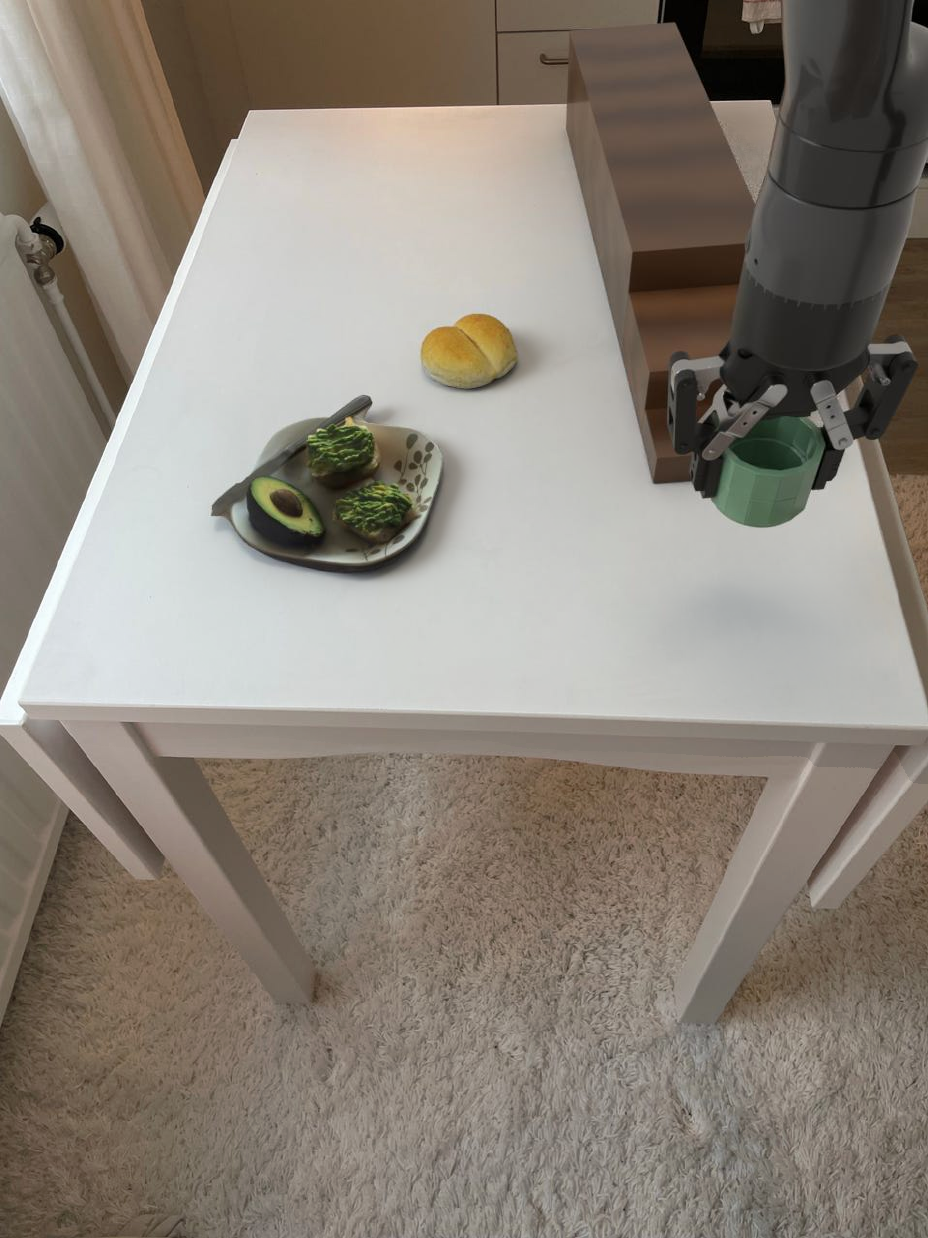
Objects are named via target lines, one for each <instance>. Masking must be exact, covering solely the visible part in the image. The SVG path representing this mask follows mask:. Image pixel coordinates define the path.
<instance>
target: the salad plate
mask: <svg viewBox="0 0 928 1238" xmlns="http://www.w3.org/2000/svg"><path fill="white" fill-rule="evenodd" d="M372 406H373V401H372V397H371V396H370V395H367V394H361V395H358V396H357V397H355V398H354V399H352V400H351V401H350V402H348V403H346V404H345V405H344V406H343V407H341V408H340V409H339V410H337V411H336V412H335V413H333V414H332V415H331V416H324V417H323V416H320V417H319V416H318V417H310V418H309V417H308V418H305V419H302V420H299V421H297V422H293V423H291V424H289V425H286V426H284V427H281V428H280V429H279V430H277V431H276V432H275V433H273V434H272V436H271V437H270V438H269V440H268V441H267V442H266V443H265V445H264V446H263V448H262V449H261V451H260V454H259V455H258V457H257V459H256V461H255V463H254V464H253V466H252V468H251V470H250V473H249V475H248V476H246V477H245V478H244V479H243V480H242V481H240V482H236V483H235V484H233V485H232V486H231V487H230V488H229V489H227V490H226V491H225V492H224V493H222V494H221V495H220V496H219V497H218V498H217V499H216V500H215V501H214V502H213V503H212V504H211V513H210V517H222V518H224V519H226V520H227V521H228V522H229V523H230V524H231V526H232V527H233V529H234V531H235V533H236V534H237V535H238V537H239V538H240V539H241V540H242V541H243V542H244V543H245V544H246V545H247V546H248V547H250V548H252V549H254V550H255V551H257V552H258V553H261V554H263V555H264V556H267V557H268V558H271V559H272V560H276V561H279V562H283V563H288V564H291V565H295V566H298V567H302V568H307V569H311V570H316V571H320V572H327V573H328V572H329V573H344V574H345V573H358V572H365V571H370V570H374V569H378V568H381V567H383V566H385V565H388V564H389V563H392V562H393V561H395V560H397V559H398V558H400V557H401V556H403V555H404V554H406V553H407V552H408V551H409V550H411V549H412V547H413V546H414V545H415V544H416V543H417V541H418V540H419V539H420V537H421V536H422V535H423V533H424V531H425V530H426V528H427V525H428V524H429V517H430V512H431V509H432V505H433V502H434V500H435V497H436V494H437V492H438V488H439V484H440V480H441V477H442V472H443V468H444V463H445V462H444V457H443V454H442V451H441V449H440V447H439V446H438V444H437V443H436V442H435V441H434V440H433V439H432V438H431V437H430V436H428V434H426V433H425V432H423V431H421V430H418V429H415V428H412V427H407V426H406V427H405V426H397V425H389V424H379V423H373V422H369V421H367V420H366V416H367V414H368V412H369V410H370V409H371V407H372Z"/></svg>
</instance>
